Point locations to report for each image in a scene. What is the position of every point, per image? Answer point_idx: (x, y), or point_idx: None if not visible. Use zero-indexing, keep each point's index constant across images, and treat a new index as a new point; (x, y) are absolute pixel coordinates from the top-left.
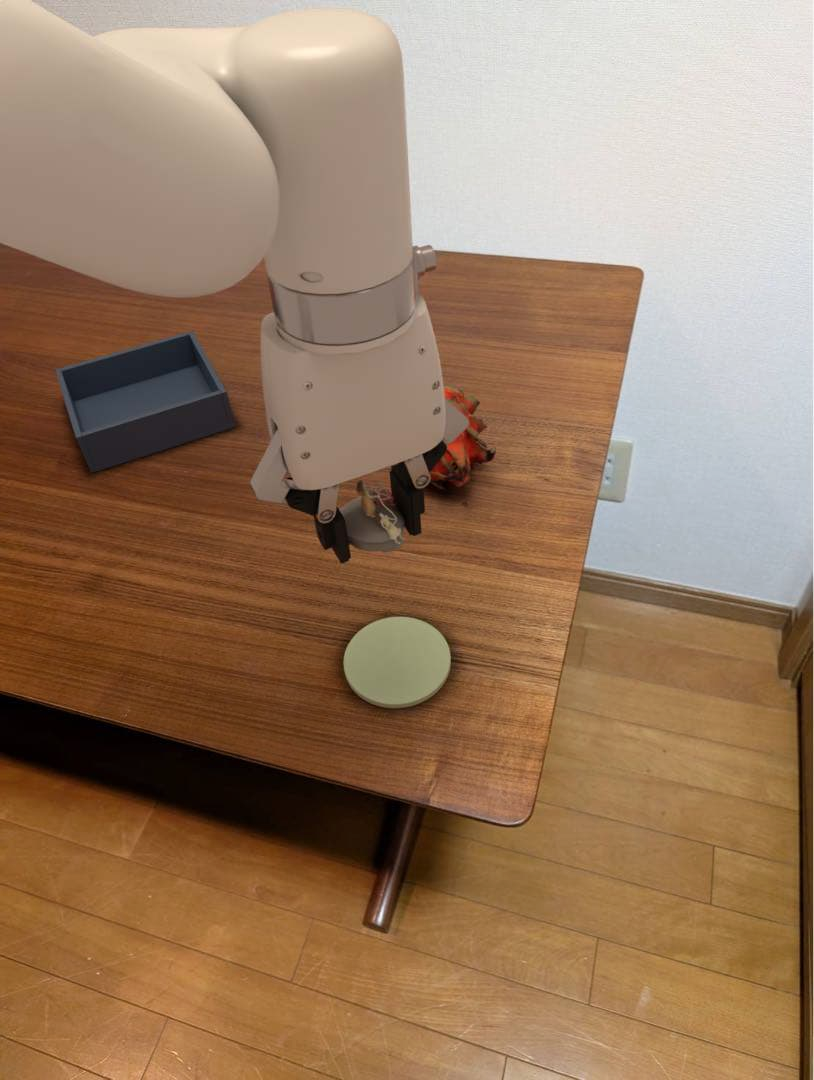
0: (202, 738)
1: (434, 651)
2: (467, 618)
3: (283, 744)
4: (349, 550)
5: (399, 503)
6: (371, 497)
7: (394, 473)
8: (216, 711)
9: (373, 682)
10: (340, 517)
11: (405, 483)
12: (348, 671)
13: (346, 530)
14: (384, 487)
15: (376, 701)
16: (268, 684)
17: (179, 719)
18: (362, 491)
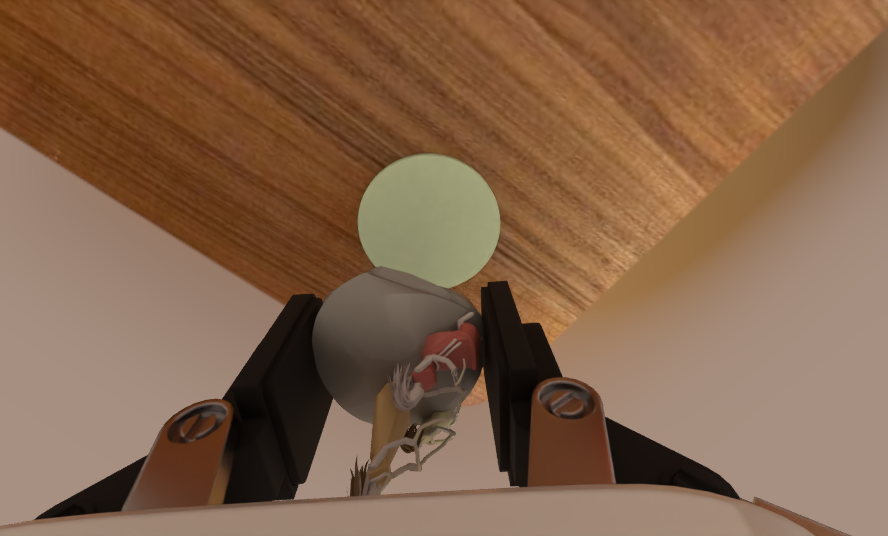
0: (168, 232)
1: (478, 236)
2: (546, 194)
3: (267, 275)
4: (331, 399)
5: (488, 362)
6: (393, 477)
7: (506, 394)
8: (185, 201)
9: (388, 249)
10: (288, 491)
11: (512, 468)
12: (362, 222)
13: (314, 451)
14: (459, 387)
15: None
16: (256, 188)
17: (134, 194)
18: None
